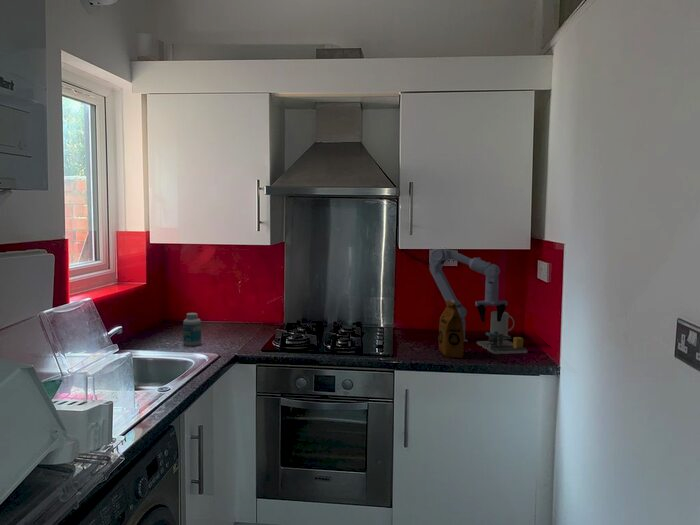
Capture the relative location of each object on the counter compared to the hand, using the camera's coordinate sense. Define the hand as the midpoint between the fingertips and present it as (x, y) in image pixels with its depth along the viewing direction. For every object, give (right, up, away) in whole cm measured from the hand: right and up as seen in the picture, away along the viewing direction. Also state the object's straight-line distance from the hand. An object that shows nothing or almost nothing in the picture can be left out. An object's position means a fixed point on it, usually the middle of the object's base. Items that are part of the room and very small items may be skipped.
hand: (490, 321), depth 239 cm
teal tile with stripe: (+3, -6, -1) cm, 7 cm away
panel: (+3, -11, -6) cm, 13 cm away
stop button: (-1, -8, -7) cm, 11 cm away
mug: (+9, -10, +15) cm, 20 cm away
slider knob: (+9, -10, -11) cm, 17 cm away
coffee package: (-21, -12, -18) cm, 30 cm away
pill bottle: (-132, -9, -8) cm, 132 cm away
